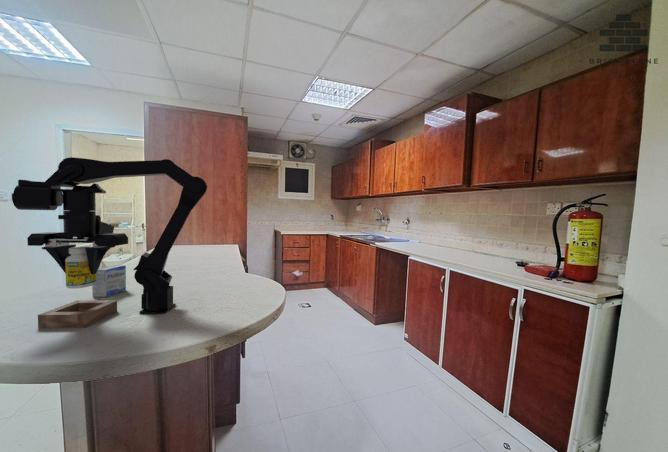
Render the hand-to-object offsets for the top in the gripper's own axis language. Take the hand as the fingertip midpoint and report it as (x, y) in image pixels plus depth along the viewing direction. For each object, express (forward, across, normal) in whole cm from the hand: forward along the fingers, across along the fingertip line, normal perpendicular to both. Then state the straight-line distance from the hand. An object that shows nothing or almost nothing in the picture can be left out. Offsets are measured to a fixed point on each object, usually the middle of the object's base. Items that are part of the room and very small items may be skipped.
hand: (81, 273), depth 64 cm
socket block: (+11, 0, 0) cm, 11 cm away
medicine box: (+12, +8, -21) cm, 25 cm away
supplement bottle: (+3, 0, 0) cm, 3 cm away
